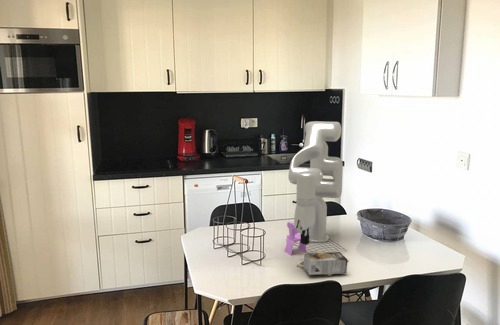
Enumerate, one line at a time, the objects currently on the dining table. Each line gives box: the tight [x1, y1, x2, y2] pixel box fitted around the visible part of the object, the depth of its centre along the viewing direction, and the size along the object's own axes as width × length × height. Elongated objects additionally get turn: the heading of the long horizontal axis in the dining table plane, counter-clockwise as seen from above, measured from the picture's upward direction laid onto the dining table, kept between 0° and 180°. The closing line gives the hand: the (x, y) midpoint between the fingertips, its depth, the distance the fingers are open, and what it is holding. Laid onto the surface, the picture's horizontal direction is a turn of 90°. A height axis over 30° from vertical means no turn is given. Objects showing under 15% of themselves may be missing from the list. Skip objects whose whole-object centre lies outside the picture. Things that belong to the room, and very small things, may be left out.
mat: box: [296, 250, 349, 277], centre depth 188 cm, size 16×18×1 cm
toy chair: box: [283, 221, 307, 257], centre depth 201 cm, size 8×9×15 cm
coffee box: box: [303, 251, 348, 276], centre depth 179 cm, size 9×6×16 cm
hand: (304, 243), depth 179 cm, fingers closed
